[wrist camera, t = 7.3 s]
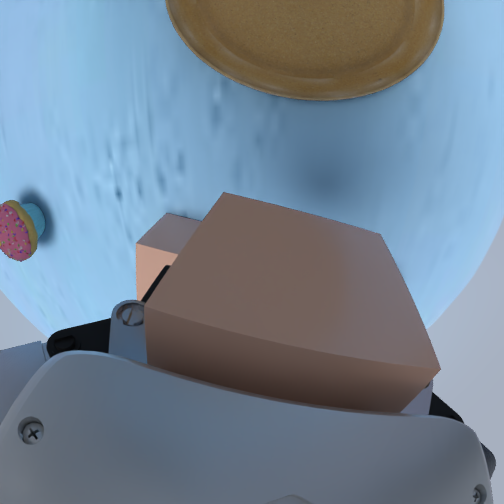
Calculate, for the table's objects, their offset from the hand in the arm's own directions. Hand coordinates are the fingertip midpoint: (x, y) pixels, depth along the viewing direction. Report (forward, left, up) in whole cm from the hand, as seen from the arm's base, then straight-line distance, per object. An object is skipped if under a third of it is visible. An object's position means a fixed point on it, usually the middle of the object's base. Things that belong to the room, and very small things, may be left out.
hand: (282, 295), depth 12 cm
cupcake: (-33, -12, -18) cm, 39 cm away
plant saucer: (-3, +19, -18) cm, 27 cm away
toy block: (0, 0, -1) cm, 1 cm away
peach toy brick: (-8, -10, -17) cm, 21 cm away
